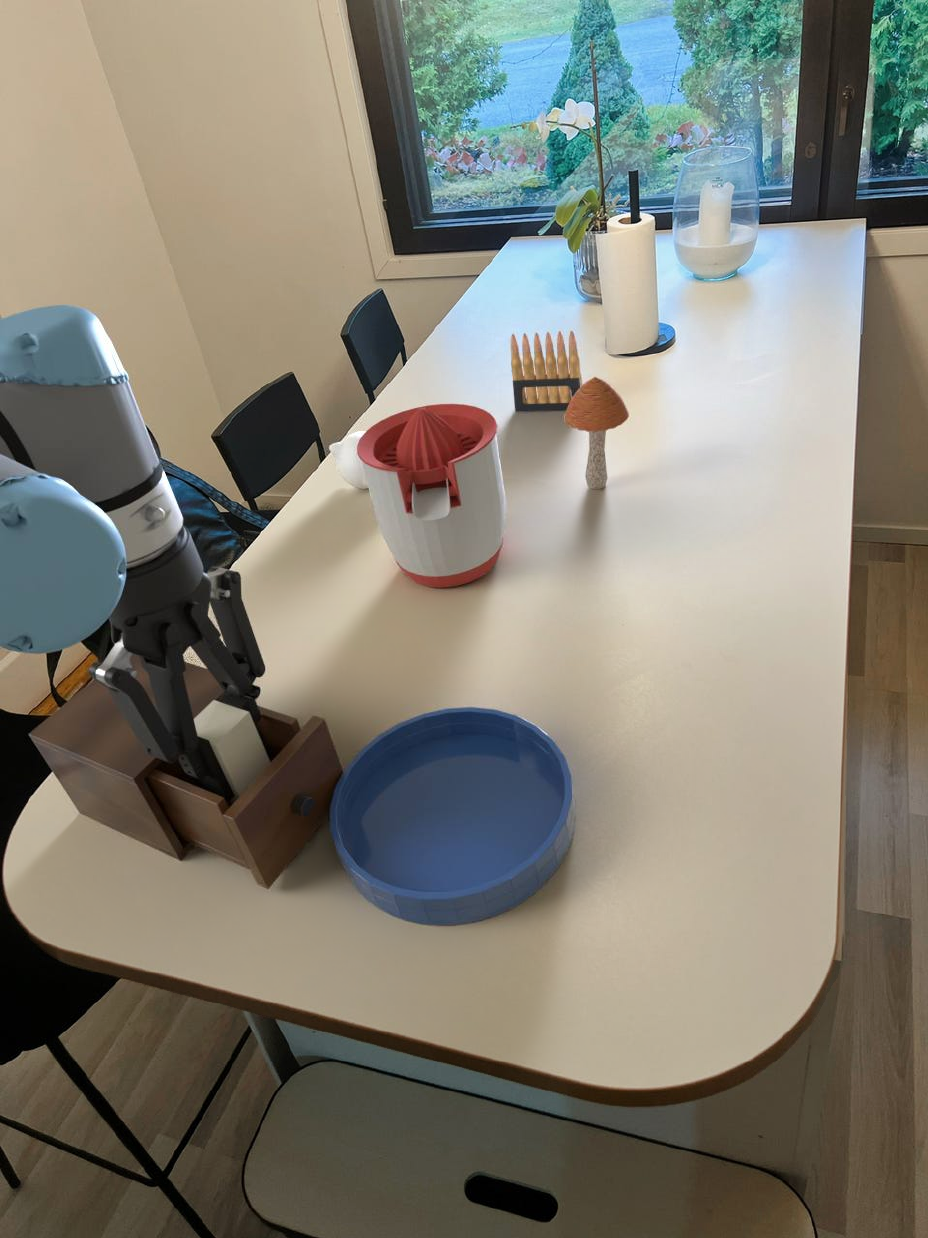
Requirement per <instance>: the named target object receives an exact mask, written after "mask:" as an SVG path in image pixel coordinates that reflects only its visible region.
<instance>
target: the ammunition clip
mask: <svg viewBox="0 0 928 1238" xmlns="http://www.w3.org/2000/svg"><path fill="white" fill-rule="evenodd" d="M544 345H545V346H544V347H545V356H544V351H543V345H542V341H541V337H540V335H539V333H538V332H535V333H534V338H533V354H534V355H533V356H534V359H533V357H532V351H531V350H532V349H531V344H530V340H529V338H528V335H527V334H526V332H524V333H523V335H522V340H521V347H522V348H521V350H522V357H521V354H520V349H519V344H518V340H517V338H516V335H515V334H514V333H512V334H511V337H510V358H511V359H510V364H511V374H512V375H511V376H512V389H513V403H514V412H515V413H522V412H523V413H524V412H525V413H526V412H529V413H530V412H563V411H565V412H566V410H567V407H568V405H569V403H570V401H571V399H572V397H573V396H574V395H575V393H576V392H577V391H578V389H579V388H580V387H581V386H582V385H583V379H582V373H581V363H580V356H579V352H578V344H577V338H576V336H575V334H574V331H573V330H570V331H569V335H568V356H567V350H566V344H565V339H564V336H563V333H562V331H558V333H557V338H556V354H555V348H554V343H553V338H552V335H551V333H550V332H549V331H547V332H546V335H545V343H544ZM556 355H557V357H556Z"/></svg>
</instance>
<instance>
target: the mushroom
mask: <svg viewBox="0 0 928 1238" xmlns="http://www.w3.org/2000/svg"><path fill="white" fill-rule="evenodd" d="M629 416H630V413H629V410H628V407H627V406H626V403H625V401H624V399H623V398H622V396H621V394H620V393H619V392H618V391H617V390H616V388H614V387H613V386H612V385H611V384H610V383H609V382H607V381H606V380H604V379H603V378H599V377H596V376H593V377H592V378H590V379H588V380H586V381H585V382H584V383H582V386H581V387H580V388H579V389H578V391H577V392H576V393H575V395H574V396H573V397H572V399H571V401H570V403H569V405H568V407H567V410H566V411H565V414H564V416H563V420H564V422H565V423H566V425H568V426H569V427H570V428H572V429H576V430H578V431H581V432H582V431H583V432H587V433H588V453H587V454H588V455H587V462H586V468H585V476H584V477H585V481H586V482H585V483H586V486H587V487H588V488H589V489H591V490H595V491H597V490H602V489H604V488H605V487H606V485H607V481H608V469H607V461H606V452H605V451H606V449H605V448H606V434H607V431H608V430H613V429H615V428H617V427H619V426H622V425H623V424H624V423H625V422H626V421H627V420H628V418H629Z"/></svg>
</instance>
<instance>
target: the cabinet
mask: <svg viewBox="0 0 928 1238" xmlns="http://www.w3.org/2000/svg"><path fill="white" fill-rule="evenodd" d="M131 664H132V665H133V667H134V670H136V671H137V677H136V678H135V679H136V680H137V681H139V683H140V684H141V685H142V686H143V688H144V689H145V691H146V693H147V694H148V696H149V698H150V700H151V701H152V703H153V705H154V707H155V708H156V710H157V707H156V703H155V699H154V695H153V691H152V688H151V684H150V680H149V676H148V673H147V672H146V671H145V670H144V669H143V667H142V665H141V661H140V657H139V655H136V654H132V656H131ZM185 666H186V671H185V672H183V676H184V680H185V685H186V689H187V693H188V697H189V702H190V706H191V710H192V714H193V719H194V718H195V717H197V716H198V715H199V714H200V713H201V712H202V711H203V710H204V709H205V708H206V707H207V706H208V705H209V704H210V703H211V702H212V701H213V700H215V701H218V702H219V700H218V699H219V698H220V697H221V696H222V695H223V694H224V693H225V694H228V691H225V690H223V689H222V687H221V686H220V685H219V683H218V682H217V681H216V679H215V678H214V677H213V675H212V674H211V673H210V671H209V670H208V669H207V667H204V666H199V665H196V664H193V663H190V662H187V661H185ZM228 695H229V694H228ZM157 712H158V711H157ZM28 736H29V739H31V741H32V742H33V744H34V745H35V747H36V749H37V750H38V751H39V753H40V755H41V756H42V758H43V759H44V761H45V762H46V764H47V765H48V767H49V769H50V770H51V772H52V773H53V775H54V777H55V778H56V779H57V780H58V782H59V784H60V785H61V787H62V788H63V790H64V791H65V793H66V795H67V796H68V797H69V799H70V801H71V802H72V804H73V805H74V807H75V808H76V810H77V811H78V813H79V814H80V815H83V816H85V817H87V818H89V819H91V820H94V821H95V822H98V823H100V824H102V825H104V826H106V827H108V828H110V829H112V830H115V831H116V832H119V833H120V834H123V835H124V836H126V837H129V838H131V839H133V840H136V841H138V842H140V843H142V844H144V845H146V846H148V847H150V848H152V849H154V850H156V851H159V852H161V853H163V854H165V855H167V856H168V857H169V856H170V857H171V858H174V859H176V860H178V861H182V860H183V859H184V858H185V857H186V856H187V855H188V854H189V853H190V851H191V850H192V849H193V848H194V847H195V846H196V845H194V844H192V843H190V842H188V841H185V840H183V839H181V838H179V837H177V836H176V834H175V833H174V831H173V829H172V827H171V825H170V824H169V822H168V820H167V818H166V817H165V815H164V813H163V811H162V810H161V808H160V806H159V804H158V802H157V801H156V799H155V797H154V795H153V794H152V792H151V790H150V788H149V786H148V785H147V783H146V781H145V779H144V778H145V777H146V776H147V775H148V774H150V773H151V772H152V771H153V770H154V769H155V768H156V767H157V766H158V765H159V764H160V763H161V762H162V761H163V760H161V759H159V758H156V757H154V756H151V755H149V754H147V753H146V752H145V750H144V749H143V747H142V745H141V744H140V742H139V740H138V739H137V737H136V735H135V734H134V732H133V730H132V729H131V727H130V725H129V724H128V722H127V720H126V719H125V717H124V715H123V714H122V712H121V711H120V709H119V707H118V706H117V704H116V702H115V701H114V699H113V697H112V696H111V694H110V692H109V691H108V689H107V688H106V687H104V686H103V685H101V684H100V683H98V682H97V681H95V680H94V679H92V680H91V681H90V682H89V683H88V684H87V685H86V686H85V687H83V688H82V689H81V690H80V691H79V692H77V693H76V694H75V695H74V696H73V697H71V698H70V699H69V700H68V701H67V702H65V703H64V704H63V705H61V707H59V708H57V710H55V712H53V713H51V715H49V717H47V718H46V719H45V720H43V722H41V723H40V724H39V725H38V726H36V727H35V728H34V729H33V730H31V732H29V733H28Z"/></svg>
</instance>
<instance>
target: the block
mask: <svg viewBox="0 0 928 1238" xmlns="http://www.w3.org/2000/svg"><path fill="white" fill-rule="evenodd" d="M194 723H195V727H196V731H197V736H199V737H201V738H204V739H207V740H209V742H210V745H211V747H212V749H213V751H214V753H215V755H216V757H217V759H218V762H219V764H220V766H221V768H222V770H223V772H224V774H225V776H226V778H227V781H228V783H229V785H230V787H231V789H232V791H233V793H234V795H235V796H234V797H233V798H232V799H231V800H230V802H232V803H234V802H235V801H236V800H237V799H238V798H239V797H240V796H241V795H242V793H243V792H244V791H245V790H246V789H247V788H248V787H249V786H250V785H251V784H252V783H253V781H254V780H255V779H256V778H257V777H258V776H259V775H260V774H261V773H262V772H263V770H264V769H265V768H266V767H267V766H268V765H269V764H270V760H269V758H268V756H267V753H266V751H265V748H264V746H263V744H262V741H261V739H260V737H259V734H258V732H257V729H256V727H255V725H254V722H253V720H252V718H251V715H250V713H249V712H248V711H245V710H242V709H239V708H236V707H233V706H230V705H227V704H224V703H221V702H218V701H215V700H213V701H212V702H211V703H210V704H209V705H208V706H207V707H206V708H205V709H204V710H203V711H202V712H201V713H200V714H199V715H198V716H197V717H195V718H194Z"/></svg>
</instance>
